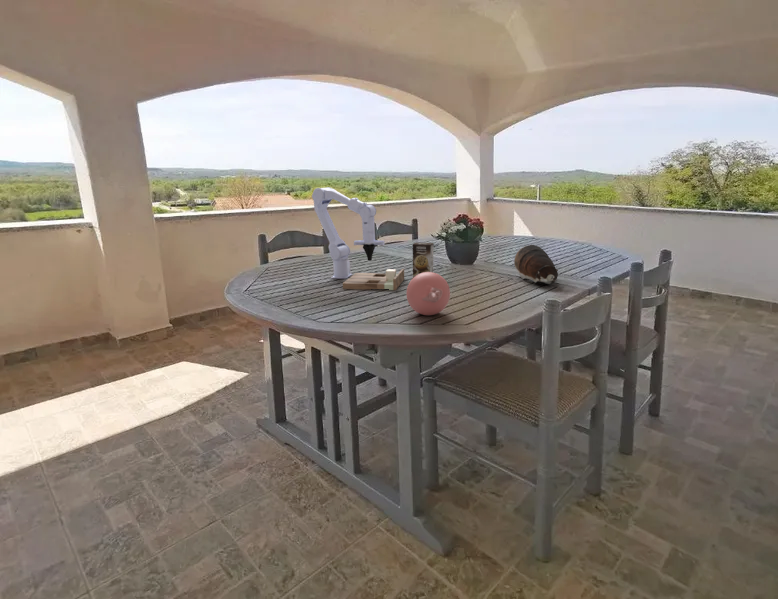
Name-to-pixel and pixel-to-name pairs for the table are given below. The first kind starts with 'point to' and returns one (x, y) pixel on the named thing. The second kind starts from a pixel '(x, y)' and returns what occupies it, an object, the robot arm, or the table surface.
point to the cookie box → (422, 258)
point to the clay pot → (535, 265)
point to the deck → (373, 281)
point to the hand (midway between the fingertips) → (369, 260)
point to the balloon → (428, 293)
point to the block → (390, 274)
